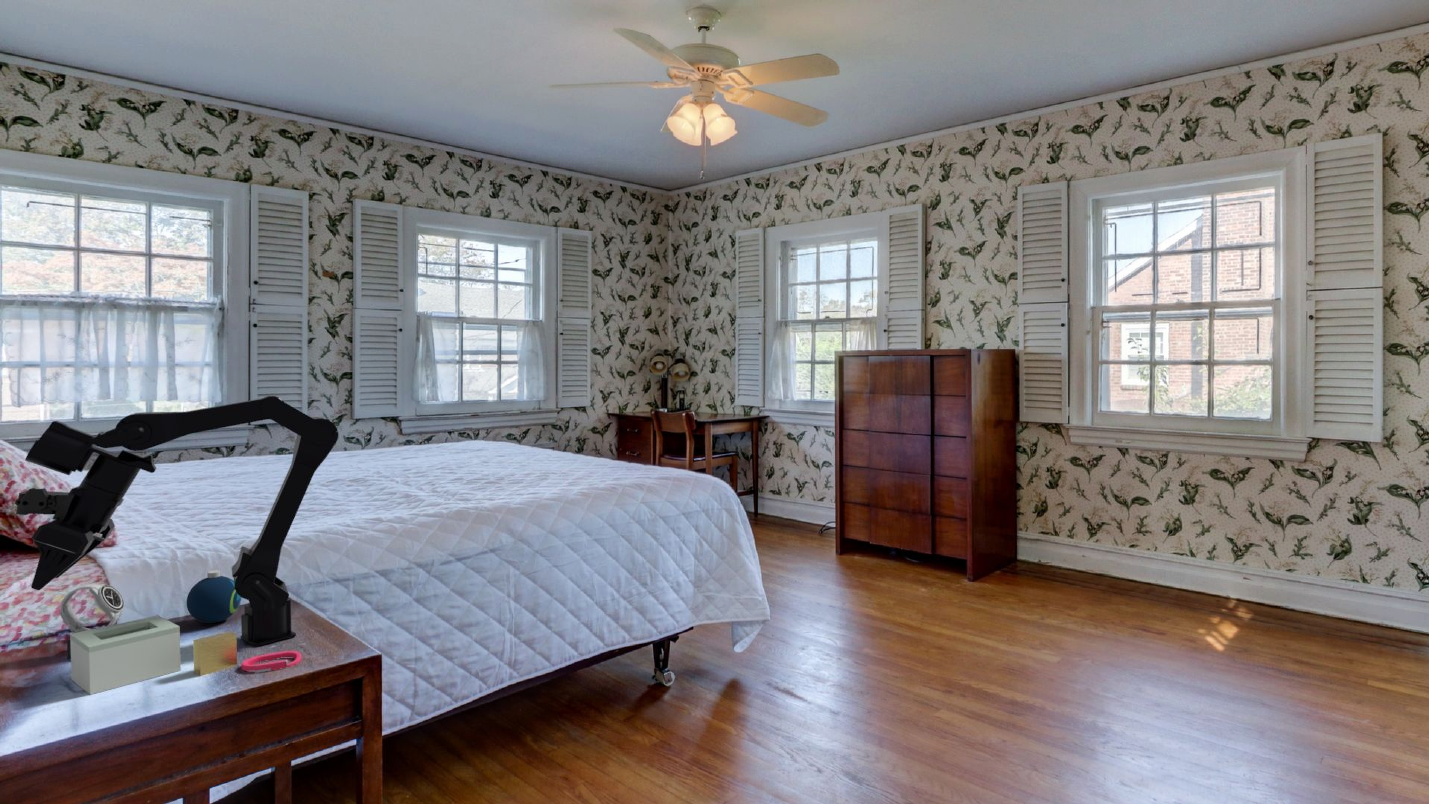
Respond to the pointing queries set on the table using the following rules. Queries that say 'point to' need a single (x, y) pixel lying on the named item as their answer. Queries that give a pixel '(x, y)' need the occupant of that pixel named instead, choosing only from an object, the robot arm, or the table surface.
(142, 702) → the table surface
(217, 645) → the block
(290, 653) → the fitness band
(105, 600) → the watch
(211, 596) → the christmas ornament
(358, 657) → the table surface
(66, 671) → the table surface
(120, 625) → the coin box
